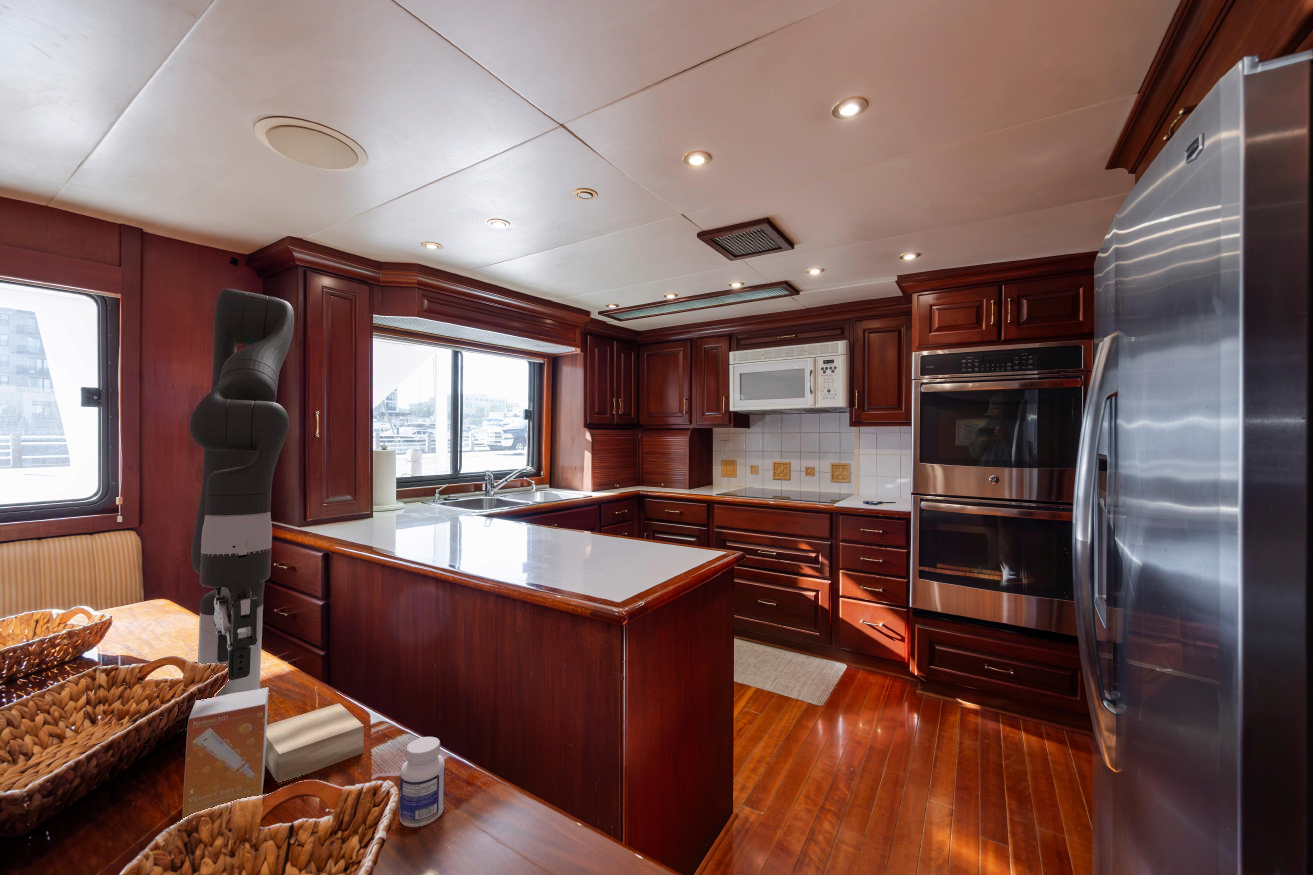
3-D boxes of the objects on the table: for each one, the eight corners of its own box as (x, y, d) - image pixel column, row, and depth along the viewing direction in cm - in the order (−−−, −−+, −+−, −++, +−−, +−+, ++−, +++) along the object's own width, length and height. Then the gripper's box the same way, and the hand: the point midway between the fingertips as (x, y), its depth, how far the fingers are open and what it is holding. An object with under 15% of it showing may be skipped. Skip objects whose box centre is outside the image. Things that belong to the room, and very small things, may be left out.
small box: (181, 825, 66) (186, 718, 67) (190, 798, 71) (194, 698, 72) (262, 803, 71) (266, 702, 71) (265, 778, 76) (269, 685, 76)
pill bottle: (411, 800, 72) (413, 732, 72) (450, 801, 71) (452, 734, 72) (390, 827, 66) (393, 754, 67) (432, 829, 66) (434, 756, 66)
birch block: (258, 756, 82) (259, 726, 82) (338, 730, 90) (339, 702, 90) (278, 786, 75) (279, 754, 75) (363, 754, 83) (364, 725, 83)
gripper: (193, 544, 74) (188, 662, 74) (209, 557, 65) (203, 693, 64) (259, 538, 80) (255, 648, 79) (283, 549, 70) (279, 675, 69)
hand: (232, 668), depth 72 cm, fingers open, 8 cm apart
